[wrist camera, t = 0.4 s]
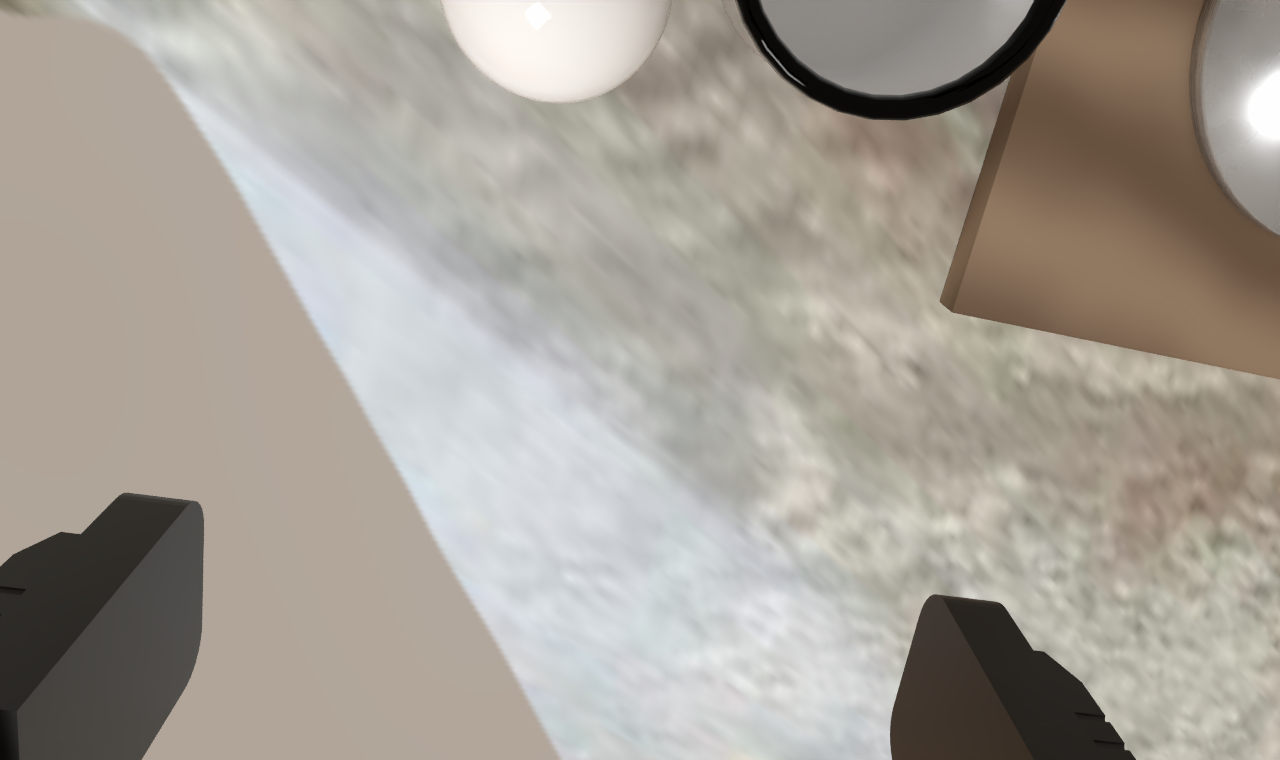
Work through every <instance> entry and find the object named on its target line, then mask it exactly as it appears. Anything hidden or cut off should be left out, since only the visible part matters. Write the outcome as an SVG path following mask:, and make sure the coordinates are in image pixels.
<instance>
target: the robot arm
mask: <svg viewBox="0 0 1280 760" xmlns="http://www.w3.org/2000/svg"><path fill="white" fill-rule="evenodd" d="M203 545H204V518H203V511H202V508H201V506H200V504H199V503H198V502H196V501H189V500H182V499H172V498H165V497H157V496H148V495H141V494H133V493H123V494H121V495H120V496H118V497H117V498H116V499H115V500H114V501H113V502H112V503H111V504H110V505H109V506H108V507H107V508H106V509H105V510H104V511H103V512H102V513H101V514H100V515H99V516H98V517H97V518H96V519H95V520H94V521H93V522H92V523H91V525H90V526H89V527H88V528H87V529H86V530H85V531H84V532H83V533H82V534H73V533H65V532H60V533H58V534H56V535H54V536H51V537H49V538H47V539H45V540H43V541H41V542H39V543H37V544H34V545H32V546H30V547H28V548H26V549H24V550H22V551H20V552H18V553H16V554H13V555H12V556H11V557H10V558H9V559H8V560H7V561H6V562H5V563H4V564H3V565H2V566H0V760H142V758H143V756H144V755H145V753H146V751H147V750H148V748H149V746H150V745H151V743H152V742H153V740H154V738H155V737H156V735H157V733H158V732H159V730H160V729H161V727H162V725H163V724H164V722H165V720H166V719H167V717H168V715H169V714H170V712H171V711H172V709H173V707H174V706H175V704H176V702H177V701H178V699H179V697H180V696H181V694H182V693H183V691H184V689H185V687H186V686H187V683H188V682H189V679H190V677H191V674H192V672H193V669H194V666H195V663H196V659H197V655H198V651H199V646H200V640H201V632H202V598H203V597H202V596H203V595H202V594H203V547H204V546H203ZM890 744H891V754H892V760H1136V759H1135V758H1134V756H1133V755H1132V753H1131V752H1130V751H1128V750H1125V749H1124V744H1125V743H1124V742H1123V740H1122V739H1121V738H1120V736H1119V735H1118V733H1117V732H1116V730H1115V729H1114V728H1113V726H1112V725H1111V723H1110V722H1105V715H1104V713H1103V712H1102V710H1101V709H1100V708H1099V706H1098V705H1097V703H1096V702H1095V700H1094V699H1093V698H1092V696H1091V695H1090V693H1089V692H1088V691H1087V689H1086V688H1085V686H1084V685H1083V683H1082V682H1081V681H1079V680H1078V679H1077V678H1076V677H1074V676H1073V675H1072V674H1071V673H1070V672H1068V671H1067V670H1066V669H1065V668H1063V667H1062V666H1061V665H1060V664H1058V663H1057V662H1056V661H1055V660H1054V659H1052V658H1051V657H1050V656H1049V655H1047V654H1046V653H1045V652H1042V651H1033V649H1032V648H1031V646H1030V645H1029V643H1028V642H1027V640H1026V639H1025V637H1024V635H1023V634H1022V632H1021V631H1020V629H1019V628H1018V626H1017V625H1016V623H1015V622H1014V620H1013V619H1012V617H1011V616H1010V614H1009V613H1008V611H1007V610H1006V608H1005V607H1004V606H1003V605H1002V604H1000V603H998V602H993V601H985V600H977V599H969V598H961V597H953V596H945V595H937V594H935V595H932V596H930V597H929V598H928V599H927V600H926V602H925V603H924V605H923V608H922V610H921V613H920V616H919V619H918V623H917V626H916V630H915V633H914V637H913V640H912V644H911V647H910V651H909V654H908V658H907V661H906V665H905V668H904V672H903V675H902V679H901V682H900V686H899V689H898V693H897V696H896V700H895V703H894V707H893V711H892V717H891V727H890Z"/></svg>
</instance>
